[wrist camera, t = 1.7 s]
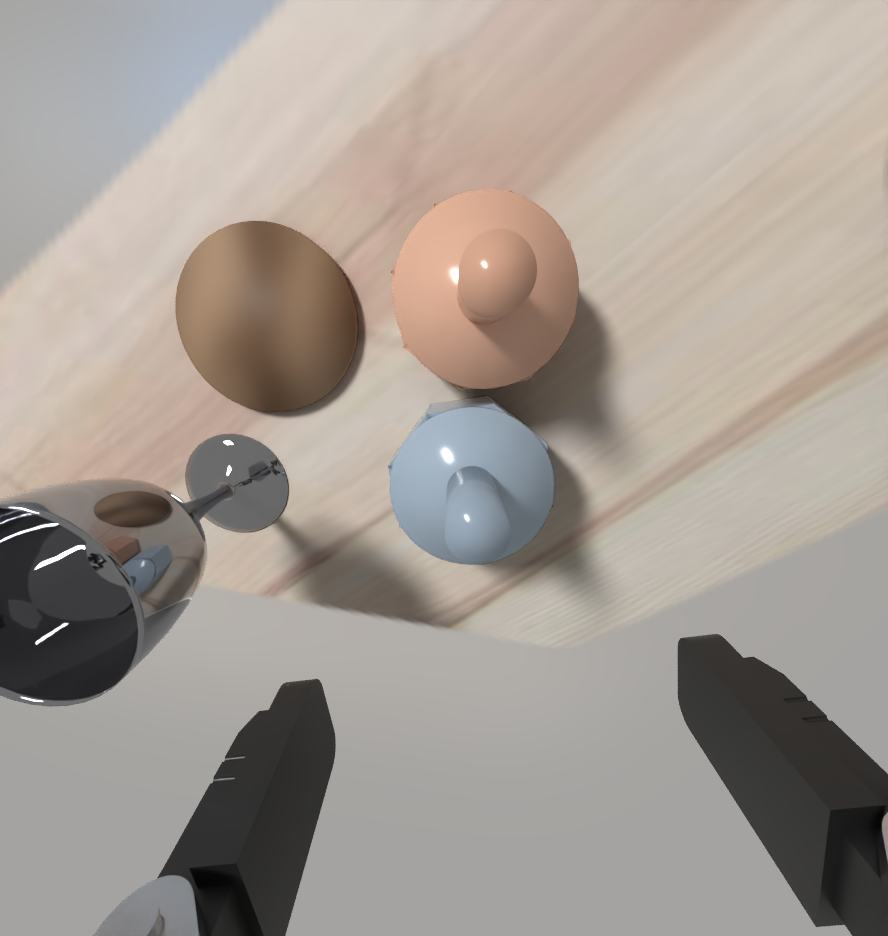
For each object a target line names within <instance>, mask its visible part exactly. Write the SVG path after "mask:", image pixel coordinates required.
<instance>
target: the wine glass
mask: <svg viewBox="0 0 888 936" xmlns="http://www.w3.org/2000/svg"><path fill="white" fill-rule="evenodd" d="M185 478H186V487H187V491H188V494H189V496H190V499H191V501H190V502H187V503H184V502H183V501H182V500H181V499H180V498H179V497H177V496H175V495H174V494H172V493H171V492H169V491H167V490H165V489H163V488H161V487H158V486H156V485H154V484H151V483H148V482H144V481H141V480H133V479H123V478H105V479H91V480H78V481H73V482H67V483H61V484H55V485H49V486H45V487H41V488H36V489H32V490H29V491H25V492H21V493H18V494H14V495H10V496H7V497H3V498H0V695H1V696H4V697H6V698H9V699H12V700H15V701H19V702H24V703H28V704H32V705H41V706H68V705H73V704H79V703H84V702H86V701H89V700H92V699H94V698H97V697H99V696H101V695H102V694H104V693H106V692H107V691H109V690H111V689H112V688H113V687H114V686H116V685H117V684H118V683H119V682H120V681H121V680H122V679H123V678H124V677H125V676H126V675H127V674H128V673H129V672H130V671H131V670H133V669H134V668H135V667H136V666H137V665H138V664H139V663H140V662H141V661H142V660H143V659H144V658H145V657H146V656H147V655H148V654H149V653H150V652H151V651H152V650H153V649H154V647H155V646H156V645H157V644H158V643H159V642H160V641H161V640H162V639H163V638H164V637H165V635H166V634H167V633H168V632H169V631H170V629H171V628H172V626H173V625H174V624H175V622H176V621H177V620H178V618H179V617H180V616H181V614H182V613H183V611H184V610H185V608H186V607H187V606H188V604H189V602H190V601H191V599H192V597H193V595H194V594H195V592H196V590H197V588H198V587H199V584H200V582H201V579H202V576H203V574H204V571H205V568H206V562H207V544H206V539H205V535H204V531H203V528H202V526H201V524H200V522H199V521H200V519H201V518H202V517H203V516H204V517H205V518H206V519H207V520H209V521H210V522H212V523H213V524H215V525H217V526H219V527H221V528H223V529H226V530H230V531H235V532H252V531H257V530H260V529H262V528H265V527H267V526H268V525H270V524H272V523H273V522H274V521H275V520H276V519H277V518H278V517H279V516H280V514H281V513H282V511H283V510H284V507H285V505H286V503H287V498H288V481H287V477H286V474H285V471H284V468H283V467H282V465H281V463H280V461H279V460H278V459H277V457H276V456H275V455H274V453H272V452H271V451H270V450H269V449H268V448H267V447H266V446H264V445H263V444H261V443H260V442H258V441H256V440H254V439H252V438H250V437H246V436H243V435H237V434H222V435H218V436H214V437H212V438H209V439H207V440H205V441H204V442H203V443H201V444H200V445H199V446H198V447H197V448H196V449H195V450H194V451H193V453H192V455H191V456H190V458H189V461H188V464H187V466H186V473H185Z"/></svg>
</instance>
